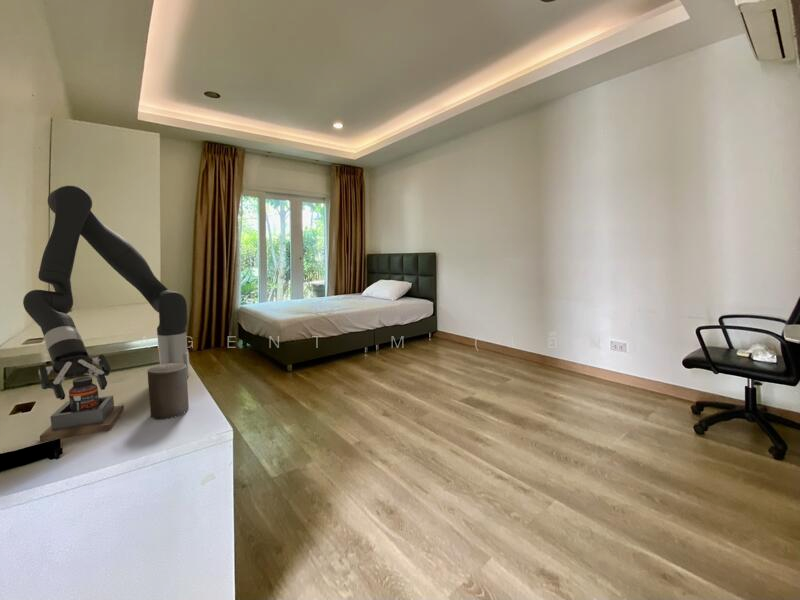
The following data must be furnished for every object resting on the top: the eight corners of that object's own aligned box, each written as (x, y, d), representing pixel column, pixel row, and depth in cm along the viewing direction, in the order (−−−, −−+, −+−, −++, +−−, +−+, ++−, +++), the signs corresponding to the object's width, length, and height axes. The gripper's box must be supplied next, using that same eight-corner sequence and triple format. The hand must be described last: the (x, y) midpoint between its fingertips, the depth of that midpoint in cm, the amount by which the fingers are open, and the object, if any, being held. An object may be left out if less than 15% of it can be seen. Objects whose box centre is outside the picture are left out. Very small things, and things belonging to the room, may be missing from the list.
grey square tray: (114, 408, 105) (113, 395, 104) (103, 423, 96) (101, 408, 95) (68, 415, 100) (67, 401, 100) (52, 431, 91) (50, 416, 91)
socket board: (124, 409, 107) (123, 405, 107) (110, 429, 95) (109, 424, 95) (63, 418, 101) (63, 413, 101) (40, 441, 89) (39, 436, 89)
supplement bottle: (83, 424, 95) (78, 383, 94) (65, 422, 96) (61, 381, 95) (106, 414, 101) (101, 376, 99) (89, 413, 102) (84, 374, 101)
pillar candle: (148, 422, 99) (144, 370, 98) (153, 409, 108) (149, 361, 106) (188, 415, 104) (185, 365, 102) (190, 403, 112) (187, 357, 111)
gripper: (31, 343, 94) (50, 394, 89) (99, 333, 105) (118, 377, 101) (29, 359, 97) (46, 409, 92) (94, 348, 109) (113, 392, 104)
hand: (84, 392), depth 96 cm, fingers open, 8 cm apart
